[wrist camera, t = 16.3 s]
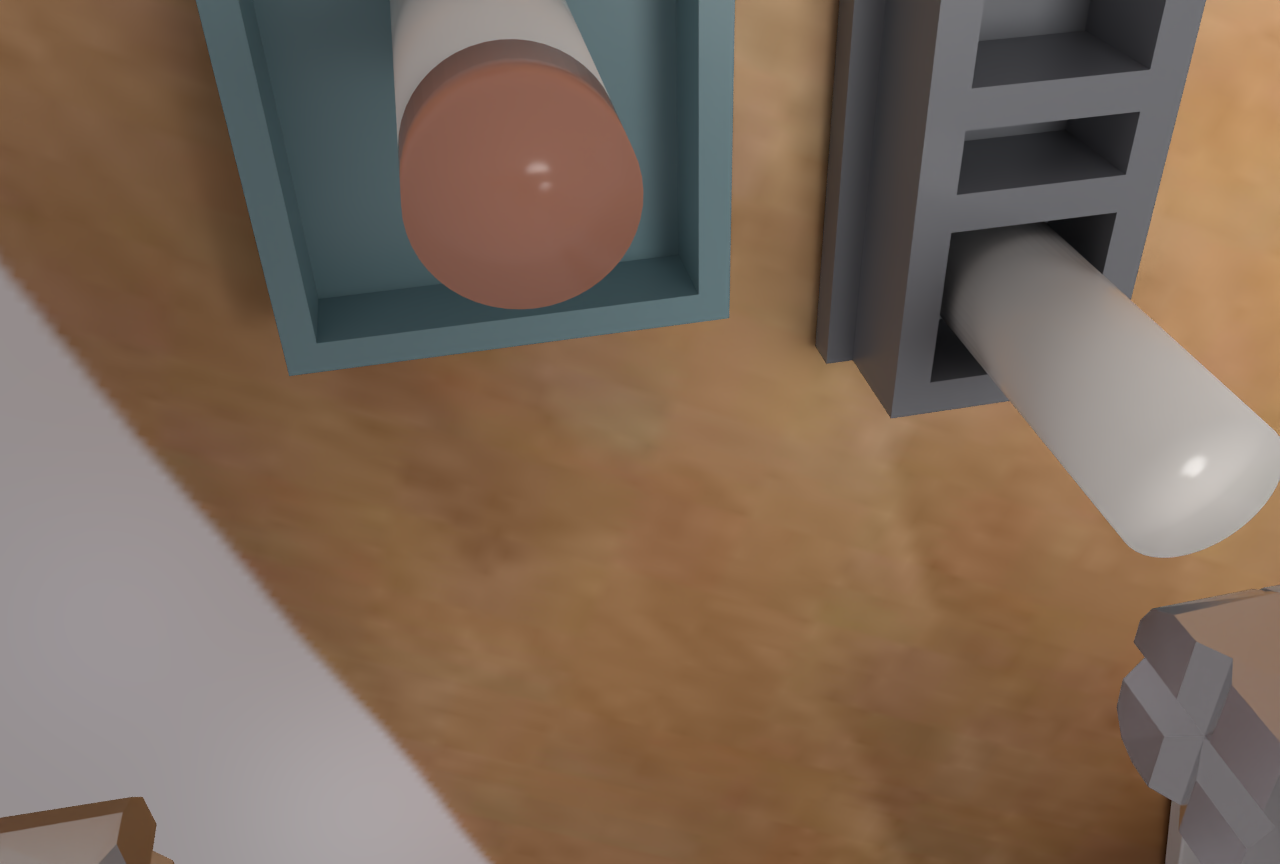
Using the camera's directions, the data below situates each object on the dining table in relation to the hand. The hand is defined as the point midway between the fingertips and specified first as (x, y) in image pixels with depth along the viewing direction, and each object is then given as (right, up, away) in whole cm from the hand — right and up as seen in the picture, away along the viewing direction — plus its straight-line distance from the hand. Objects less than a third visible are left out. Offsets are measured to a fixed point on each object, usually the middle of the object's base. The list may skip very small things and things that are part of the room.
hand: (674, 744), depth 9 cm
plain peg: (+9, +8, +23) cm, 26 cm away
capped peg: (-4, +12, +16) cm, 21 cm away
